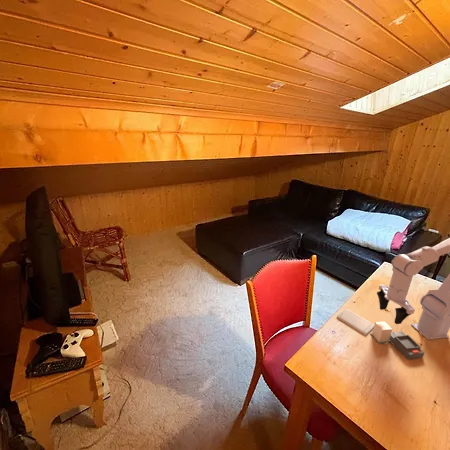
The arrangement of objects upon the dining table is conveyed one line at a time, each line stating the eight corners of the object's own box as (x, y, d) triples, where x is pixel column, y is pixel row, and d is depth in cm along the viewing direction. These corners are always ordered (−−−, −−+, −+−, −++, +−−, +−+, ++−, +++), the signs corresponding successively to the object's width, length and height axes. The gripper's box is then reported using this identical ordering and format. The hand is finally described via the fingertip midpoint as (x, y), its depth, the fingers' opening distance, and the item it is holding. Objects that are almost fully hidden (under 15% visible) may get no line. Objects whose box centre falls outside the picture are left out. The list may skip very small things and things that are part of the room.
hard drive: (337, 315, 105) (366, 333, 96) (346, 308, 109) (375, 324, 100) (336, 318, 106) (365, 336, 96) (346, 310, 110) (374, 327, 101)
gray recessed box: (400, 336, 96) (402, 329, 94) (422, 357, 86) (425, 350, 85) (386, 337, 95) (389, 330, 94) (407, 359, 86) (410, 352, 85)
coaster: (381, 332, 97) (381, 332, 97) (390, 342, 93) (390, 341, 93) (370, 334, 97) (370, 333, 97) (378, 343, 92) (378, 342, 92)
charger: (381, 333, 97) (384, 321, 94) (388, 341, 93) (392, 329, 91) (371, 333, 96) (375, 322, 94) (378, 342, 93) (382, 330, 90)
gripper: (374, 275, 93) (367, 304, 98) (405, 300, 80) (395, 331, 85) (391, 274, 94) (383, 302, 99) (424, 298, 81) (413, 329, 86)
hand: (389, 315), depth 92 cm, fingers open, 7 cm apart
